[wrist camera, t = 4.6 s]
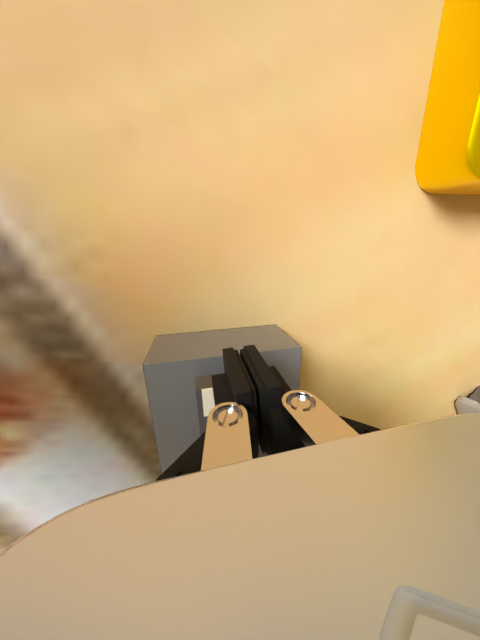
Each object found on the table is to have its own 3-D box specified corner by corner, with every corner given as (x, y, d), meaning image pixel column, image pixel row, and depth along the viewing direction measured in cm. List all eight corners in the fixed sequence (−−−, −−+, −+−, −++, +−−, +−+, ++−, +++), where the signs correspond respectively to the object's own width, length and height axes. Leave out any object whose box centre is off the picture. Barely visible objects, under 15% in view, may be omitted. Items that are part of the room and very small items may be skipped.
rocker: (195, 377, 13) (195, 392, 11) (263, 368, 13) (271, 381, 12) (204, 467, 15) (205, 488, 14) (262, 455, 16) (268, 475, 14)
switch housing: (156, 335, 18) (140, 370, 13) (278, 324, 20) (310, 350, 14) (186, 537, 25) (184, 614, 20) (274, 515, 27) (294, 580, 21)
